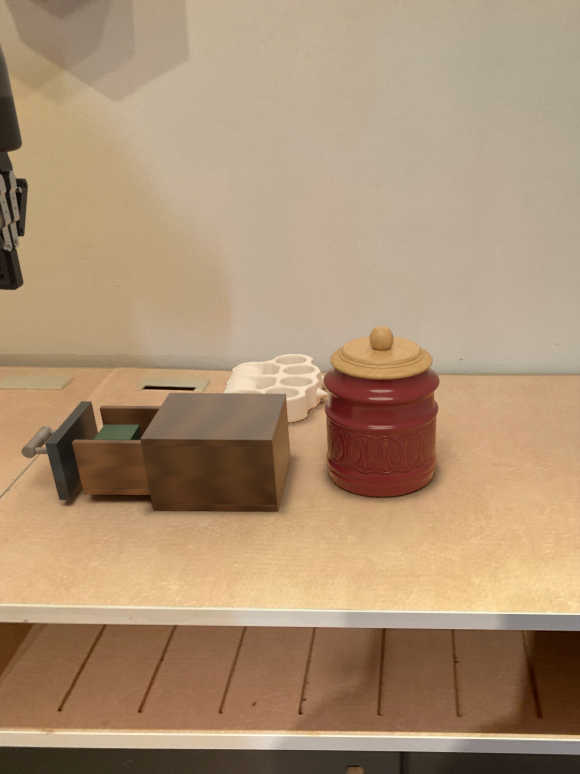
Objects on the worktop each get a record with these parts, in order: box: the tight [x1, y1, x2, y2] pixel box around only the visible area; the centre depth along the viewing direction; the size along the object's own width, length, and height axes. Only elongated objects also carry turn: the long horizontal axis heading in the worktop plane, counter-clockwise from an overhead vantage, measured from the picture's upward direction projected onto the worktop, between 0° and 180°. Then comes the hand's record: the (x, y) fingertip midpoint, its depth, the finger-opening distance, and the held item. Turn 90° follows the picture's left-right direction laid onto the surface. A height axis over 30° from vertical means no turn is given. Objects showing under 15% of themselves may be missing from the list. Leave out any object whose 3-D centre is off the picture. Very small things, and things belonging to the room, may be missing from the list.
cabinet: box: [140, 392, 292, 512], centre depth 89 cm, size 14×13×9 cm
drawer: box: [21, 400, 161, 501], centre depth 89 cm, size 17×11×7 cm
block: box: [94, 425, 142, 440], centre depth 89 cm, size 4×4×4 cm
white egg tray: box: [223, 353, 329, 424], centre depth 113 cm, size 3×18×15 cm
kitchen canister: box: [323, 325, 441, 497], centre depth 90 cm, size 13×13×18 cm
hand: (10, 287), depth 79 cm, fingers closed
